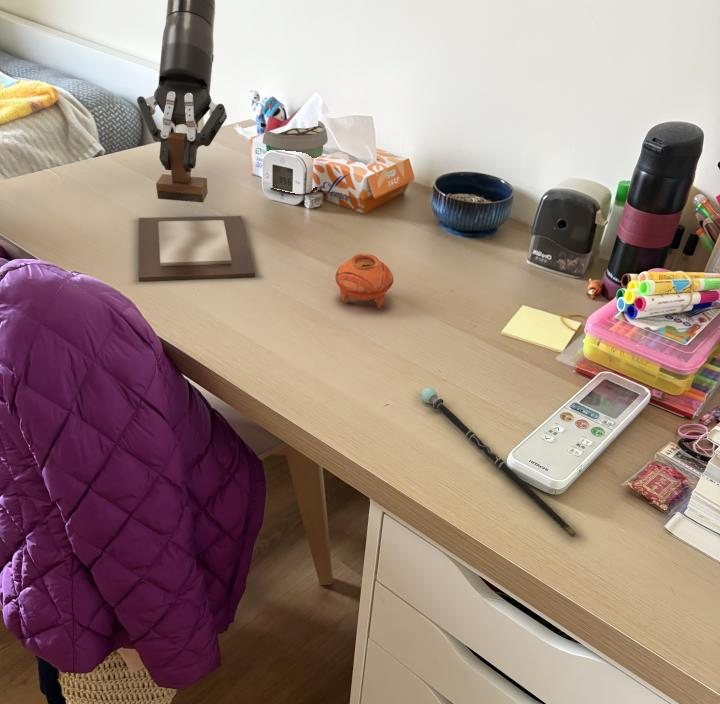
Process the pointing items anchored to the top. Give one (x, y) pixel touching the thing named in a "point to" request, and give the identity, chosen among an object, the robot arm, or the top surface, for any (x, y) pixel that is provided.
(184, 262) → the tile board
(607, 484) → the top surface
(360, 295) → the pot
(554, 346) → the top surface
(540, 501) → the black stick
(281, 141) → the food container
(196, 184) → the brown t-shaped stand
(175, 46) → the robot arm
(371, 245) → the top surface
